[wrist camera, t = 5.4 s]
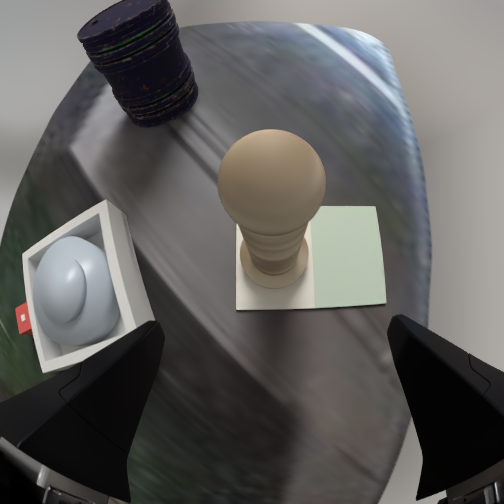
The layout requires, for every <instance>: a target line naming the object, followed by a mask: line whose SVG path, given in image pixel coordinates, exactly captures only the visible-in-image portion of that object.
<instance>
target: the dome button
mask: <svg viewBox="0 0 504 504" xmlns="http://www.w3.org/2000/svg"><path fill="white" fill-rule="evenodd" d="M33 302H34V309H35V313H36V316H37V319H38V322H39V324H40V326H41V328H42V329H43V331H44V332H45V334H46V335H47V336H48V337H49V338H50V339H51V340H53V341H54V342H56V343H58V344H61V345H65V346H73V345H91V344H95V343H98V342H100V341H101V340H103V339H104V338H105V337H106V336H108V335H109V333H110V332H111V331H112V330H113V328H114V326H115V325H116V322H117V320H118V318H119V315H120V308H119V305H118V301H117V297H116V294H115V290H114V286H113V282H112V278H111V273H110V269H109V265H108V260H107V255H106V251H105V250H104V249H102V248H100V247H98V246H96V245H94V244H92V243H90V242H88V241H86V240H84V239H82V238H79V237H73V236H70V237H65V238H62V239H60V240H58V241H57V242H55V243H54V244H53V245H52V246H51V247H50V248H49V249H48V250H47V251H46V253H45V254H44V256H43V257H42V259H41V261H40V263H39V266H38V268H37V271H36V274H35V279H34V286H33Z"/></svg>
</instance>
